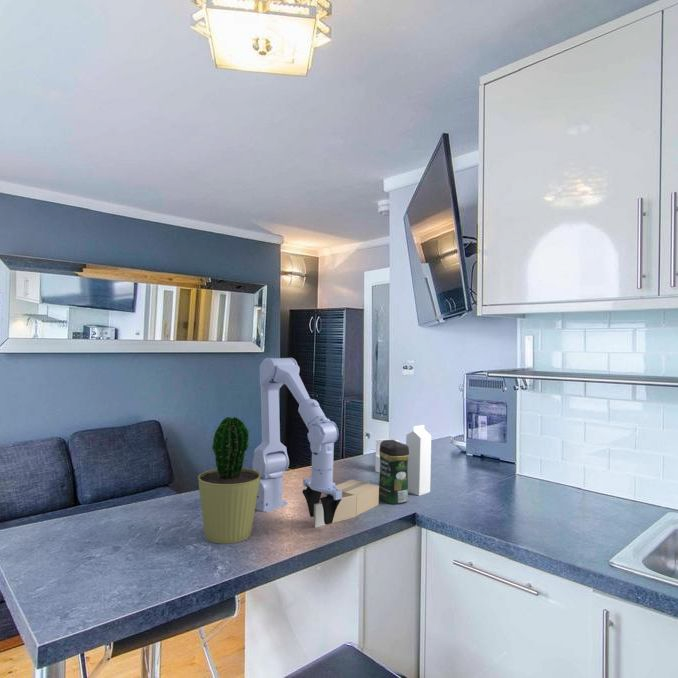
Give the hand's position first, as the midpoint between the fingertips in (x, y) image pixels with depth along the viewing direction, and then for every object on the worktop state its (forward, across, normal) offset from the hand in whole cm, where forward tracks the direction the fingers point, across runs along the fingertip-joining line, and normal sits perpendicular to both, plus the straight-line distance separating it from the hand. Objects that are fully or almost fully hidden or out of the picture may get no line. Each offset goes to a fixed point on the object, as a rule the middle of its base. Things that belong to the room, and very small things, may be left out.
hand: (321, 519), depth 126 cm
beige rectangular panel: (+2, 0, -5) cm, 5 cm away
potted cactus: (+2, +10, +22) cm, 24 cm away
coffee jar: (+2, +4, -31) cm, 32 cm away
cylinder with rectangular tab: (+2, +30, -54) cm, 62 cm away
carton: (+2, +7, -17) cm, 19 cm away
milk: (+2, +6, -44) cm, 45 cm away
